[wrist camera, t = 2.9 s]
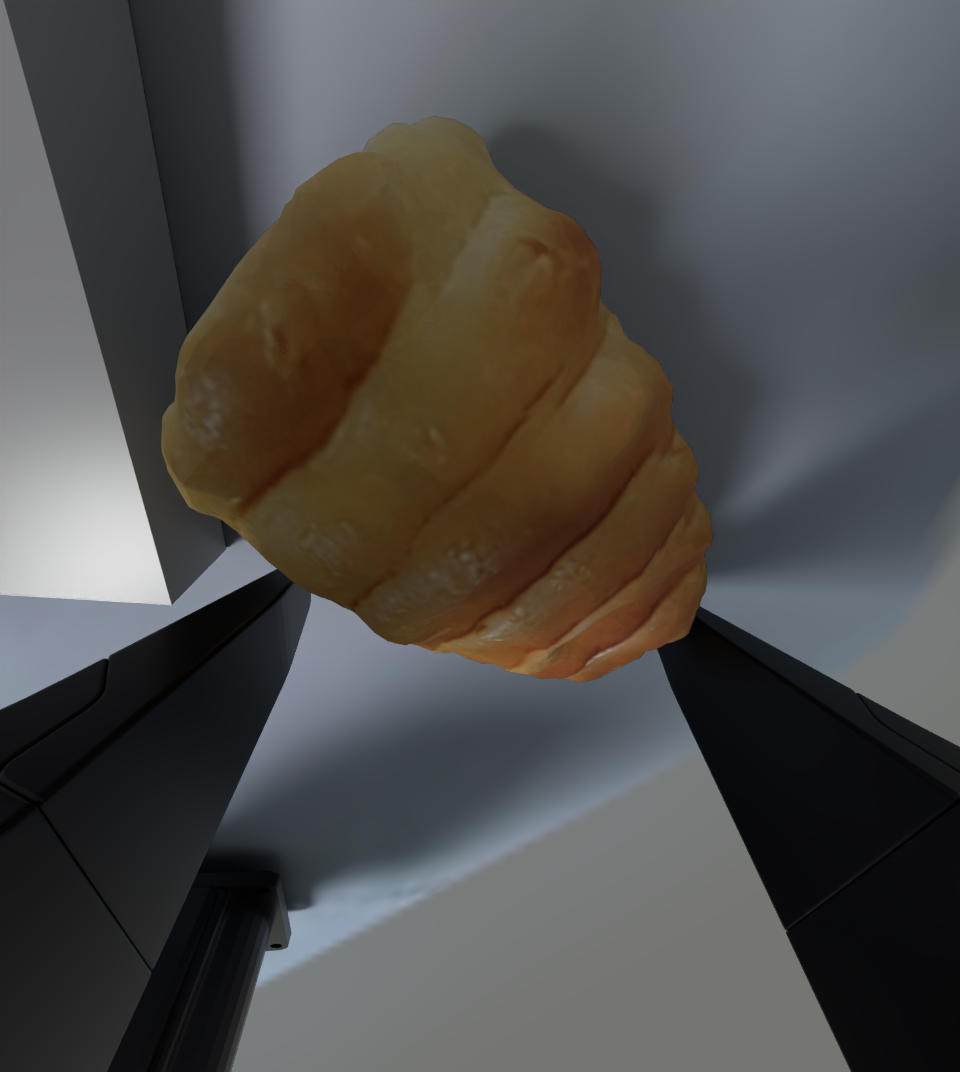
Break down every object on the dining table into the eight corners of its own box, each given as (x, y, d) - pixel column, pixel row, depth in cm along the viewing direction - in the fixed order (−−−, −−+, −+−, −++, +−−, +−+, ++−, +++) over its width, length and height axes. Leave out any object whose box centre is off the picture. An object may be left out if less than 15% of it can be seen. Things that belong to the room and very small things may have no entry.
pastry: (740, 511, 9) (920, 618, 5) (530, 674, 11) (566, 827, 7) (424, 111, 5) (379, -263, 2) (203, 455, 7) (-4, 553, 4)
